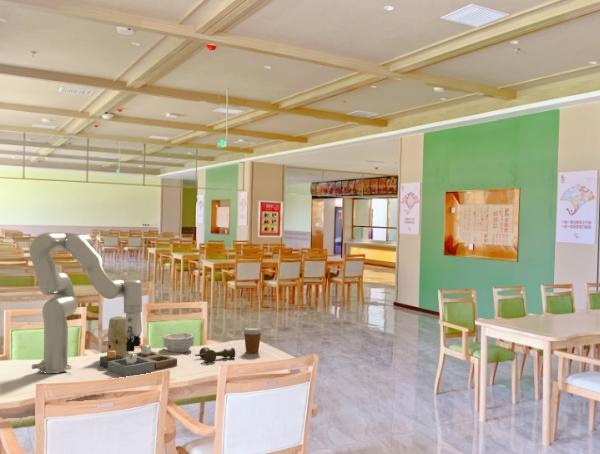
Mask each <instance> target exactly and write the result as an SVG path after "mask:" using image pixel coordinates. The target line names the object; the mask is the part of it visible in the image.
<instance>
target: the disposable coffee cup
mask: <svg viewBox="0 0 600 454" xmlns="http://www.w3.org/2000/svg"><path fill="white" fill-rule="evenodd" d="M262 332H263V330H262V328H261V327H258V326H257V327H256V326H249V327H247V326H246V327H244V329H243V335H244V345H245V353H247V354H258V353H259V350H260V343H261V336H262Z"/></svg>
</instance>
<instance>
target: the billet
mask: <svg viewBox="0 0 600 454" xmlns="http://www.w3.org/2000/svg"><path fill="white" fill-rule="evenodd" d="M135 353H136V352H134V353H132V352H131V353H130V352H129V354H126V357H125V358H126V366H130V365H135V364H137V354H135Z"/></svg>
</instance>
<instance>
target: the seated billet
mask: <svg viewBox="0 0 600 454" xmlns="http://www.w3.org/2000/svg"><path fill="white" fill-rule="evenodd" d="M140 347H141V348H140V352H141V356H142V357H146V356H151V351H152V345H151V344H142V345H141V346H140Z"/></svg>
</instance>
